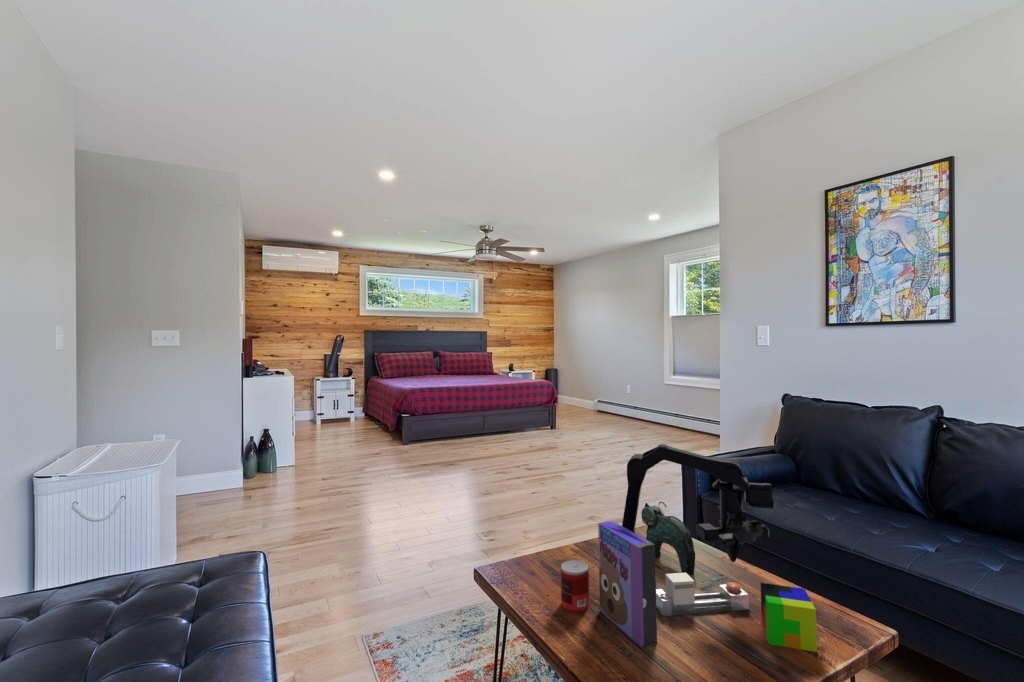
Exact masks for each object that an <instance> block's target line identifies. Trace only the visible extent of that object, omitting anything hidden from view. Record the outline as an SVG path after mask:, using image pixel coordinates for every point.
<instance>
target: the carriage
mask: <svg viewBox="0 0 1024 682" xmlns="http://www.w3.org/2000/svg"><path fill="white" fill-rule="evenodd" d="M695 590H696V589H695V580H694V579H693V578H692V577H691V575H688V574H687V573H682V572H676V573H675V572H674V573H665V593H666V594H667V595H668V597H669V598H670V599H671V602H672V603H673V605H679V604H692V603H695V594H696V592H695Z"/></svg>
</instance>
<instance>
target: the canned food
mask: <svg viewBox="0 0 1024 682" xmlns="http://www.w3.org/2000/svg"><path fill="white" fill-rule="evenodd" d="M589 574H590V573H589V565H588V564H587V563H586V562H584V561H582V560H577V559H573V560H567V561H564V562H562V563H561V565H560V595H561V601H560V602H561V606H562V608H563V610H565V609H566V610H568V611H567V612H569V611H571V612H570V613H572V612H577V613H576V614H578V612H580V613H583V612H586V610H588V608H589V606H590V582H589V581H590V580H589V576H590V575H589ZM566 610H565V611H566Z"/></svg>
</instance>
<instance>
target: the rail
mask: <svg viewBox="0 0 1024 682" xmlns="http://www.w3.org/2000/svg"><path fill="white" fill-rule="evenodd" d="M726 584H727V583H725V584H719V586H718V588H719V589H718V591H719V592H709V593H708V592H707V593H695V603H692V604H679V605H673V603H672V602H671V599H670V598H669V597H668V595H667V594H666V591H664V589H662V588H656V610H658V611H659V613H660V614H661V615H662V616H663V617H666V616H667V617H668V616H680V615H683V616H684V615H692V614H693V615H694V614H695V615H696V614H704V613H705V614H706V613H720V612H721V613H722V612H731V611H732V612H734V611H746V610H750V608H749V607H750V606H749V605H750V602H749V601H750V600H749V598H750V597H749V594H748V593H747V592H746V591H745V590H744V589H742V588H741V590H740V591H739V593H730V592H729V591H728V589H727V588H726Z"/></svg>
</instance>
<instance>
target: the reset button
mask: <svg viewBox="0 0 1024 682" xmlns="http://www.w3.org/2000/svg"><path fill="white" fill-rule="evenodd" d="M725 584H726V588H727V589H728V591H729V592H730V593H739V591H740V590H741V589H742V587H741V585H740V584H739V583H737V582H732V581H731V582H726V583H725Z"/></svg>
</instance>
